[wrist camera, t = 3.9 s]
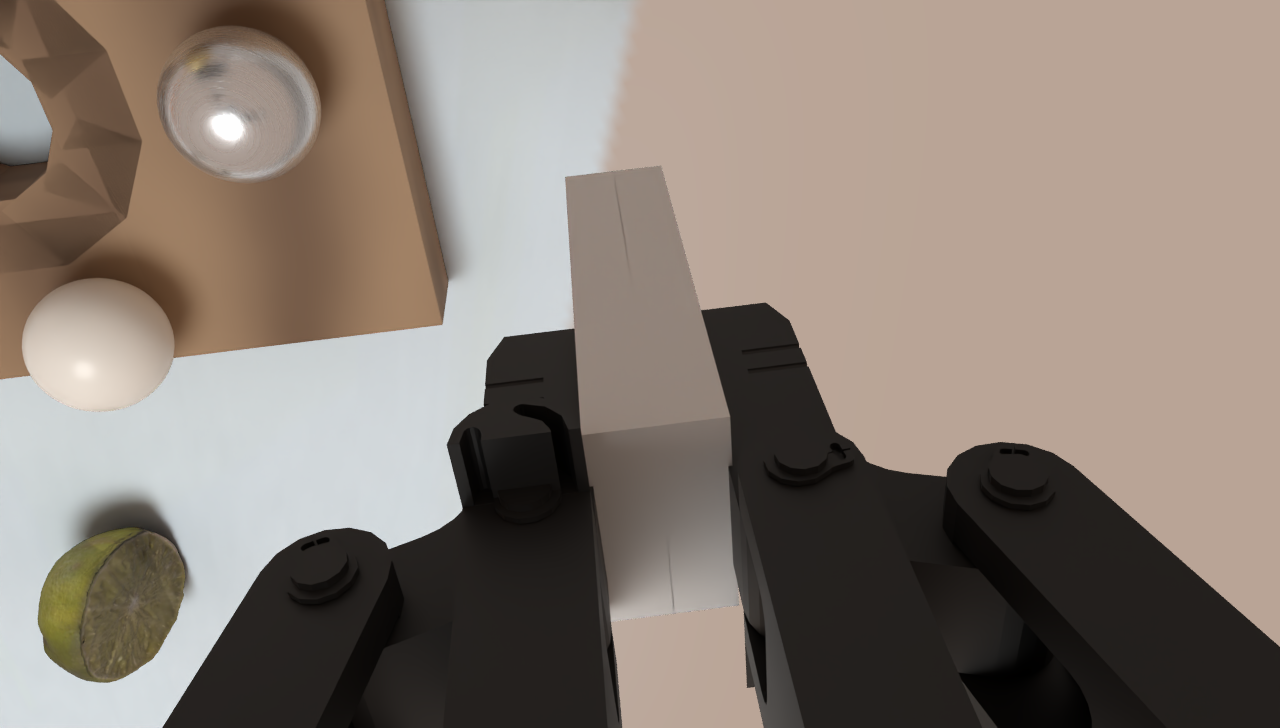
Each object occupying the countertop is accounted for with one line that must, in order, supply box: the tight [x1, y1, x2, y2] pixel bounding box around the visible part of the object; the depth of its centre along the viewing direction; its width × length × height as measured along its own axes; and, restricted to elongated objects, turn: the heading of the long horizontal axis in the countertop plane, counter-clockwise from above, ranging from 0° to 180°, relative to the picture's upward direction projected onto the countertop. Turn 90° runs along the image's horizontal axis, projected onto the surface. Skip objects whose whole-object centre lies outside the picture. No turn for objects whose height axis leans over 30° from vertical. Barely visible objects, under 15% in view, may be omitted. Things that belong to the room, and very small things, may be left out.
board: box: [0, 0, 448, 379], centre depth 25 cm, size 15×15×2 cm
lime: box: [38, 527, 185, 683], centre depth 33 cm, size 4×5×5 cm
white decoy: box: [22, 278, 175, 412], centre depth 26 cm, size 4×4×4 cm
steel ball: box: [157, 25, 321, 183], centre depth 23 cm, size 4×4×4 cm
